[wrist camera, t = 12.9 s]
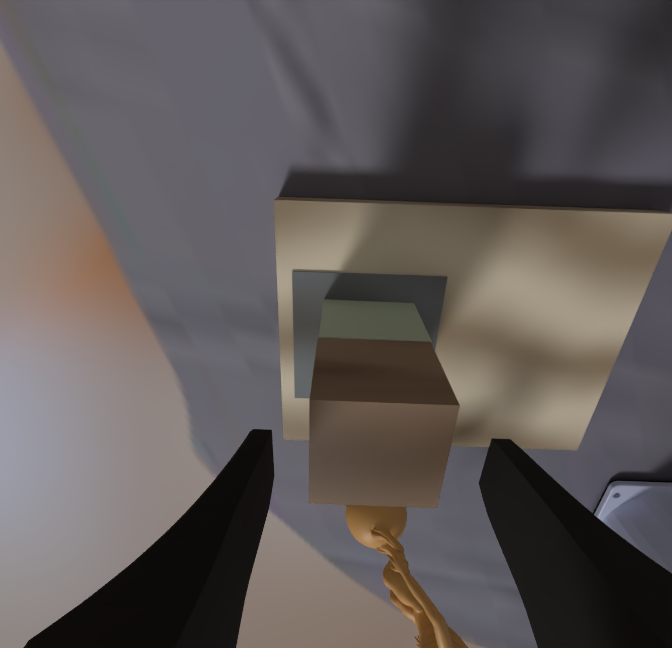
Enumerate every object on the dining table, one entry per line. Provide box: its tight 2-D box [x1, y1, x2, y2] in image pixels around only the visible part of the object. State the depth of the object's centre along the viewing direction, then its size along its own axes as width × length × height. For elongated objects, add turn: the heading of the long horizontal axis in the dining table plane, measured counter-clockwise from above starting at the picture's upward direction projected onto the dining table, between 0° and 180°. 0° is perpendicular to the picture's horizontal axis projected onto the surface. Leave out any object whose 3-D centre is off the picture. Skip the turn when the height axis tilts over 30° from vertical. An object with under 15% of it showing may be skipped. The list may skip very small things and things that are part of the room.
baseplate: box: [274, 197, 672, 450], centre depth 20 cm, size 14×18×1 cm
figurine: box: [346, 505, 468, 648], centre depth 20 cm, size 8×6×12 cm
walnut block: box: [309, 338, 460, 508], centre depth 14 cm, size 4×4×4 cm
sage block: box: [319, 299, 432, 344], centre depth 17 cm, size 4×4×4 cm
